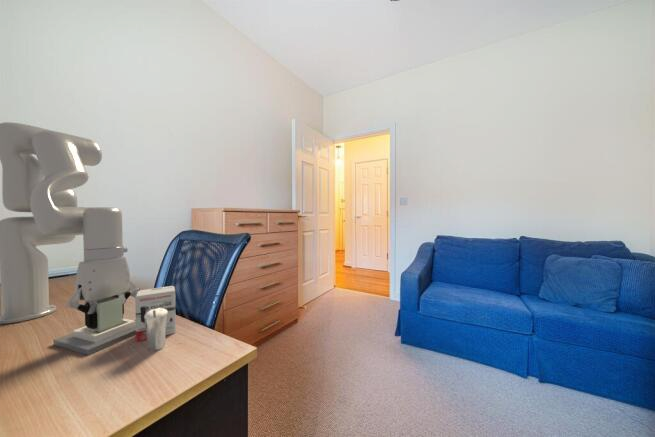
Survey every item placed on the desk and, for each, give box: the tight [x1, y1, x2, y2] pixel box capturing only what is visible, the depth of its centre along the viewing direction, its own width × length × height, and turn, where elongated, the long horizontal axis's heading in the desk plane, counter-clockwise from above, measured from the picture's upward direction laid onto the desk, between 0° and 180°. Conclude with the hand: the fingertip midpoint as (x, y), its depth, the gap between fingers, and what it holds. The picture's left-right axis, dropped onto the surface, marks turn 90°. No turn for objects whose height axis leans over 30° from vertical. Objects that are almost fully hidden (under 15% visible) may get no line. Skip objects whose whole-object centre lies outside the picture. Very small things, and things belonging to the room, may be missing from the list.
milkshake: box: [144, 308, 168, 352], centre depth 57 cm, size 5×5×10 cm
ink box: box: [135, 285, 176, 343], centre depth 64 cm, size 8×5×12 cm, turn 123°
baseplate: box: [53, 317, 136, 356], centre depth 63 cm, size 14×14×3 cm
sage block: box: [88, 296, 124, 332], centre depth 63 cm, size 5×5×7 cm
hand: (105, 322), depth 63 cm, fingers closed on sage block, 5 cm apart
